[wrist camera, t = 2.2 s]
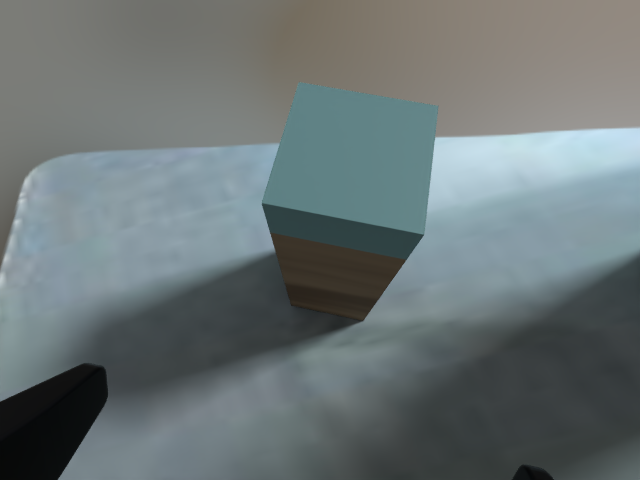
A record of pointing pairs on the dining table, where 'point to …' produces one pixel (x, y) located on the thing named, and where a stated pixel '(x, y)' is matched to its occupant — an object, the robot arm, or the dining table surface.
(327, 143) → the wooden block
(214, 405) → the dining table surface
